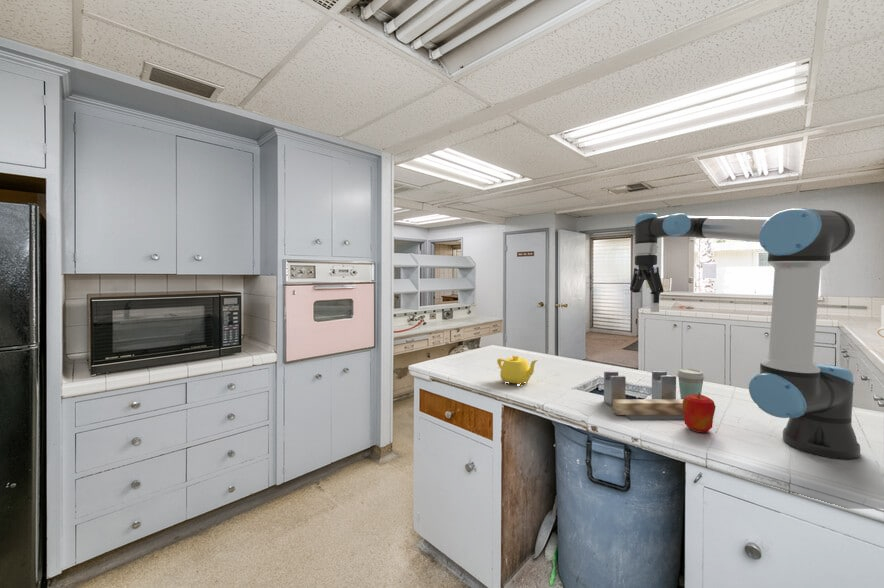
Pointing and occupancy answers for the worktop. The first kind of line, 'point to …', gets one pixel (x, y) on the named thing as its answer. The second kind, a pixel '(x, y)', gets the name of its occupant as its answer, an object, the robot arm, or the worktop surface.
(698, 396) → the apple
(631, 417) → the mat
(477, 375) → the worktop surface
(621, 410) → the rail
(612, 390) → the rack
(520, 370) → the teapot
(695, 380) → the coffee cup
